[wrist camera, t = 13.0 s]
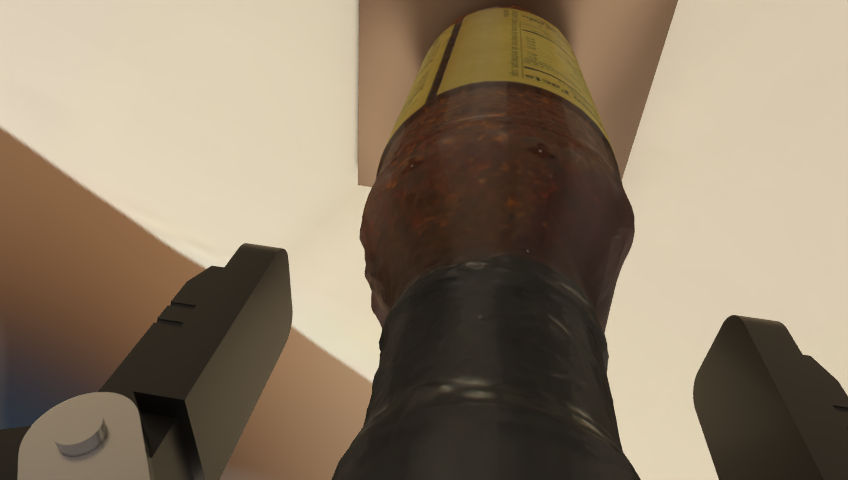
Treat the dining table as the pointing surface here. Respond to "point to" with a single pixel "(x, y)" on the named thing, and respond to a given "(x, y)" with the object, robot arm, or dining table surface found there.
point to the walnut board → (556, 3)
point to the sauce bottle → (494, 267)
